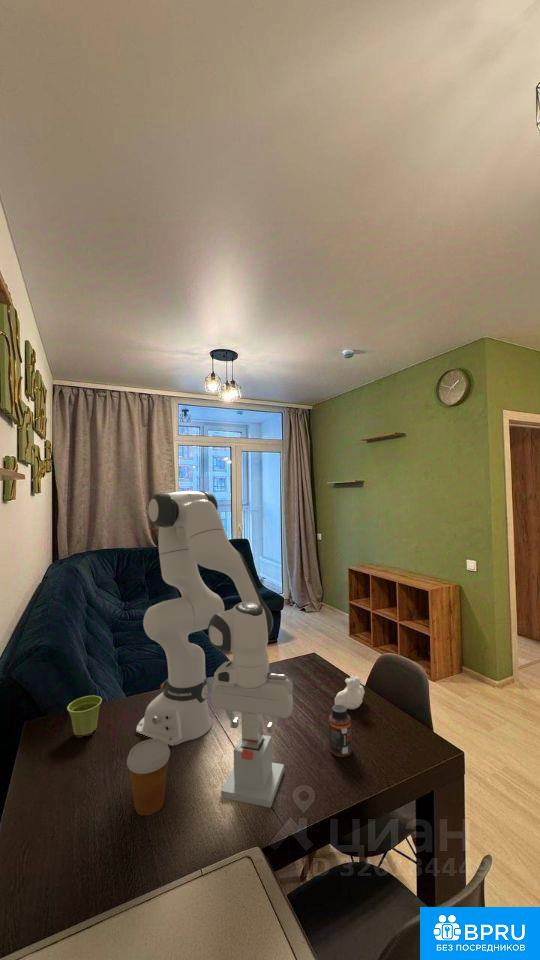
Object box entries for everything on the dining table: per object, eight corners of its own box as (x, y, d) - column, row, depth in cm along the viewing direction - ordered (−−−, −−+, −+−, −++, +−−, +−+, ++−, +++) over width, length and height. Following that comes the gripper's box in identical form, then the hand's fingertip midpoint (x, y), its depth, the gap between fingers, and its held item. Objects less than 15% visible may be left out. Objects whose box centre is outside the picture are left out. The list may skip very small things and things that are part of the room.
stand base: (221, 797, 90) (220, 752, 90) (239, 762, 101) (238, 723, 102) (270, 807, 86) (269, 761, 87) (284, 770, 98) (282, 730, 98)
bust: (338, 719, 123) (352, 700, 118) (325, 696, 128) (338, 677, 123) (365, 707, 129) (380, 688, 124) (351, 686, 135) (365, 667, 129)
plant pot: (60, 738, 114) (59, 708, 114) (86, 721, 122) (86, 693, 123) (83, 745, 110) (83, 714, 110) (109, 727, 119) (108, 698, 119)
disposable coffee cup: (147, 829, 82) (146, 770, 82) (118, 810, 87) (117, 755, 87) (179, 798, 90) (178, 745, 90) (151, 783, 95) (150, 733, 95)
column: (243, 781, 92) (241, 712, 93) (248, 769, 96) (247, 703, 97) (259, 784, 91) (257, 714, 92) (264, 772, 95) (262, 705, 96)
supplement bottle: (352, 759, 101) (350, 715, 102) (329, 757, 102) (327, 713, 103) (352, 745, 107) (350, 703, 107) (330, 743, 108) (328, 701, 109)
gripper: (295, 669, 95) (297, 727, 94) (218, 662, 101) (219, 716, 100) (289, 681, 89) (291, 743, 88) (207, 673, 95) (209, 731, 94)
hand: (252, 729), depth 94 cm, fingers open, 8 cm apart
